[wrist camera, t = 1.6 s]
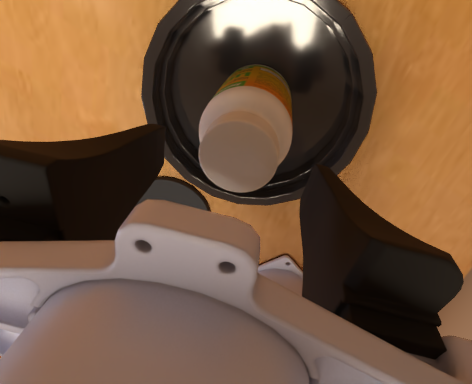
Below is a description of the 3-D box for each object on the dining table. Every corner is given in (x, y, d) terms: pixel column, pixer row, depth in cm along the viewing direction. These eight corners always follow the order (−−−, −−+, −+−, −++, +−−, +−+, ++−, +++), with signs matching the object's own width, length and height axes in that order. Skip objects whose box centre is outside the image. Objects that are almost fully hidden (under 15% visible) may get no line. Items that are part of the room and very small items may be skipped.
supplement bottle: (252, 45, 20) (228, 77, 12) (307, 98, 21) (318, 158, 13) (207, 103, 22) (163, 160, 15) (258, 146, 24) (243, 220, 16)
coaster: (227, 221, 29) (226, 224, 29) (173, 250, 33) (171, 254, 33) (170, 161, 26) (168, 164, 26) (117, 201, 30) (114, 204, 30)
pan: (401, 122, 21) (417, 139, 19) (240, 210, 28) (235, 231, 26) (285, -100, 16) (284, -119, 13) (120, 78, 23) (98, 89, 20)
